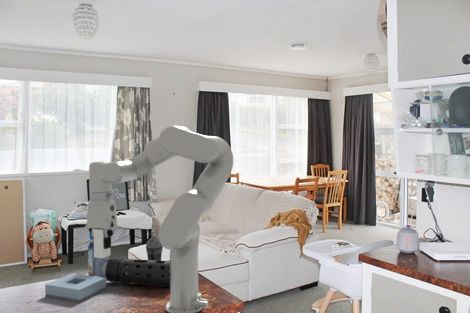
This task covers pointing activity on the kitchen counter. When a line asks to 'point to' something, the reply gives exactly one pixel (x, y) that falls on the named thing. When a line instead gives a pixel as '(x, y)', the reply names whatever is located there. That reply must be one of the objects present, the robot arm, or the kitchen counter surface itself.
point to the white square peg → (100, 244)
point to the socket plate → (75, 287)
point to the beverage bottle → (94, 261)
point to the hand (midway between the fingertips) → (102, 247)
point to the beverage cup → (154, 248)
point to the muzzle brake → (137, 271)
